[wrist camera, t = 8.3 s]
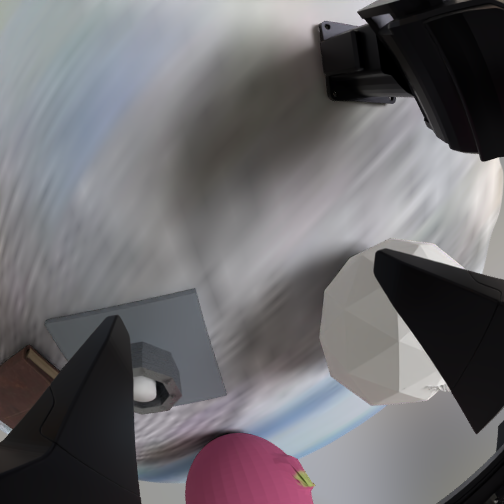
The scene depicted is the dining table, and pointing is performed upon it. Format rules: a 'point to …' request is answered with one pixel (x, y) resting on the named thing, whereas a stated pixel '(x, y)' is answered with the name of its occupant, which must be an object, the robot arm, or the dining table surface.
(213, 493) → the pink dragon fruit
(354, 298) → the geodesic sphere
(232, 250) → the dining table surface
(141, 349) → the ring
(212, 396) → the gray square plate
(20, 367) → the notebook
